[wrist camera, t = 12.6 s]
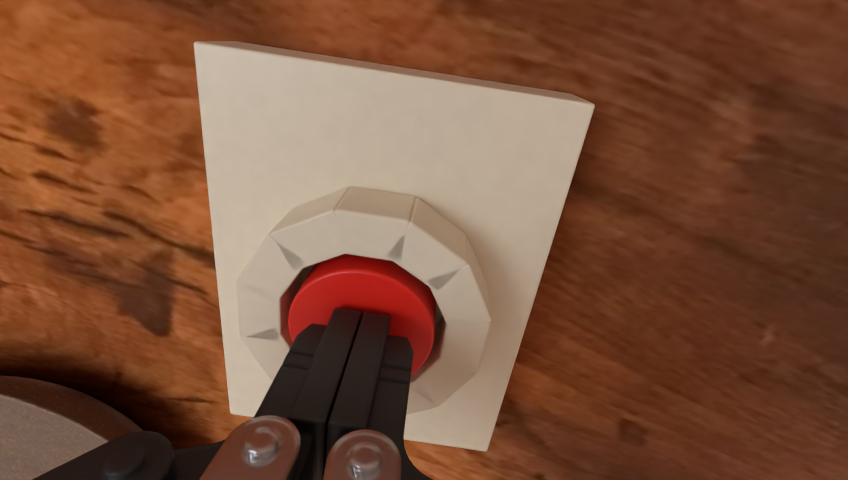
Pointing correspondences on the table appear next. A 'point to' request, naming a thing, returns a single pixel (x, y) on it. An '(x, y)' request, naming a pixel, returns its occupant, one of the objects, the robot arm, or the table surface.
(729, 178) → the table surface
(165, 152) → the table surface
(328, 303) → the button
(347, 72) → the button box
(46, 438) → the saucer
